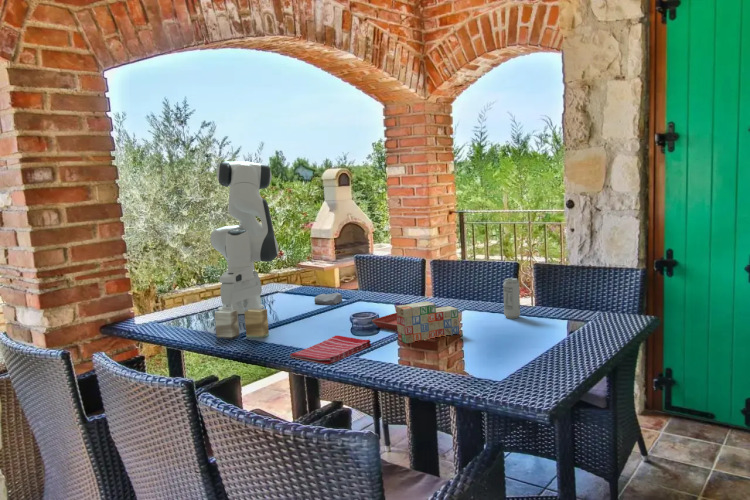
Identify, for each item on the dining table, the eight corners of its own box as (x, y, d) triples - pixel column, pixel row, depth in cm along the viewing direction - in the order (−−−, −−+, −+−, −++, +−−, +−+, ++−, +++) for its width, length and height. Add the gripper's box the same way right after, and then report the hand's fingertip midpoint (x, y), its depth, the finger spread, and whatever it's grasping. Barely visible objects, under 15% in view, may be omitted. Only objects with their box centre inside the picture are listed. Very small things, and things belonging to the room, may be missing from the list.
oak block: (262, 338, 224) (260, 311, 223) (246, 337, 227) (244, 311, 226) (268, 335, 228) (266, 309, 227) (253, 334, 231) (251, 308, 230)
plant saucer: (437, 324, 232) (437, 316, 231) (407, 335, 219) (407, 326, 218) (401, 318, 244) (401, 310, 244) (371, 328, 231) (370, 320, 231)
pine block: (232, 339, 225) (229, 313, 224) (216, 338, 228) (214, 312, 227) (239, 336, 229) (237, 310, 228) (224, 335, 232) (222, 309, 231)
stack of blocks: (450, 330, 220) (449, 297, 219) (459, 334, 215) (458, 300, 213) (397, 339, 212) (395, 305, 211) (405, 344, 206) (403, 308, 205)
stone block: (336, 308, 277) (343, 300, 286) (334, 299, 276) (342, 290, 285) (312, 309, 281) (320, 300, 290) (311, 299, 280) (319, 291, 289)
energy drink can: (523, 317, 233) (522, 279, 232) (509, 319, 231) (508, 281, 229) (514, 314, 239) (513, 277, 237) (501, 316, 237) (500, 278, 235)
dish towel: (373, 346, 207) (372, 339, 207) (330, 366, 188) (329, 358, 187) (334, 341, 217) (333, 334, 216) (289, 359, 197) (288, 351, 197)
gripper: (250, 269, 228) (253, 305, 230) (216, 278, 210) (219, 317, 211) (264, 269, 226) (267, 306, 227) (231, 278, 207) (234, 318, 209)
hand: (244, 311), depth 219 cm, fingers closed
